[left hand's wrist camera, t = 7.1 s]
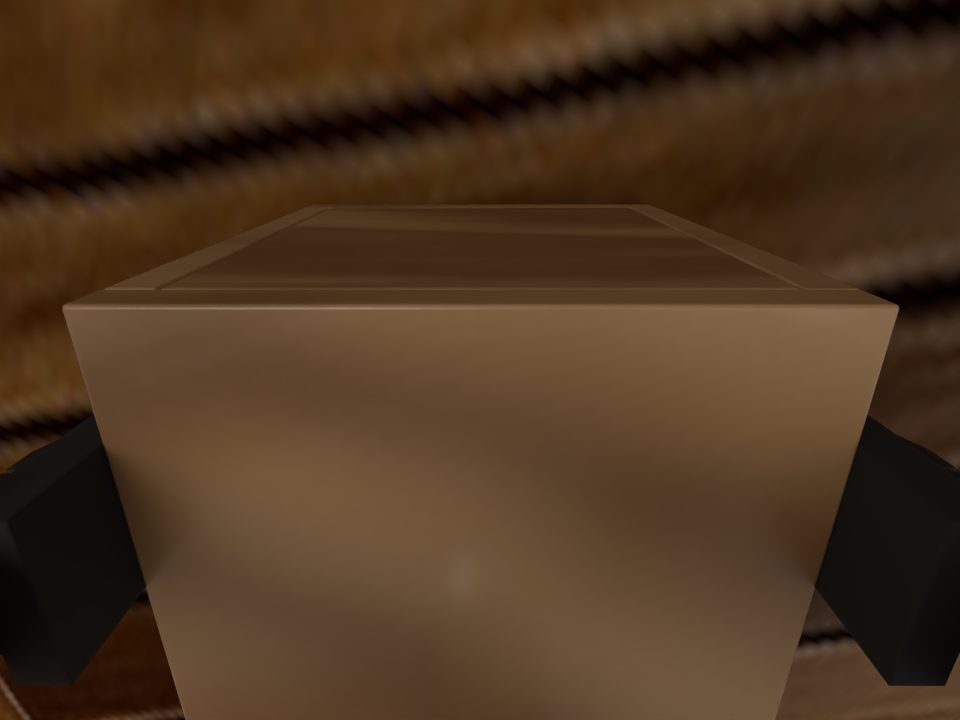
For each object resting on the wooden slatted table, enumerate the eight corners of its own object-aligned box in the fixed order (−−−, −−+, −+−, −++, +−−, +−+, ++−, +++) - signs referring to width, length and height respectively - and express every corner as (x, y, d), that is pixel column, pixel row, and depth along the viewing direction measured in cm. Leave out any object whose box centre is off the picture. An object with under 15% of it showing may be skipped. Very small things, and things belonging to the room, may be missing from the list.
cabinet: (602, 621, 25) (695, 990, 14) (358, 620, 25) (265, 989, 14) (649, 204, 18) (902, 304, 7) (311, 204, 18) (57, 304, 7)
